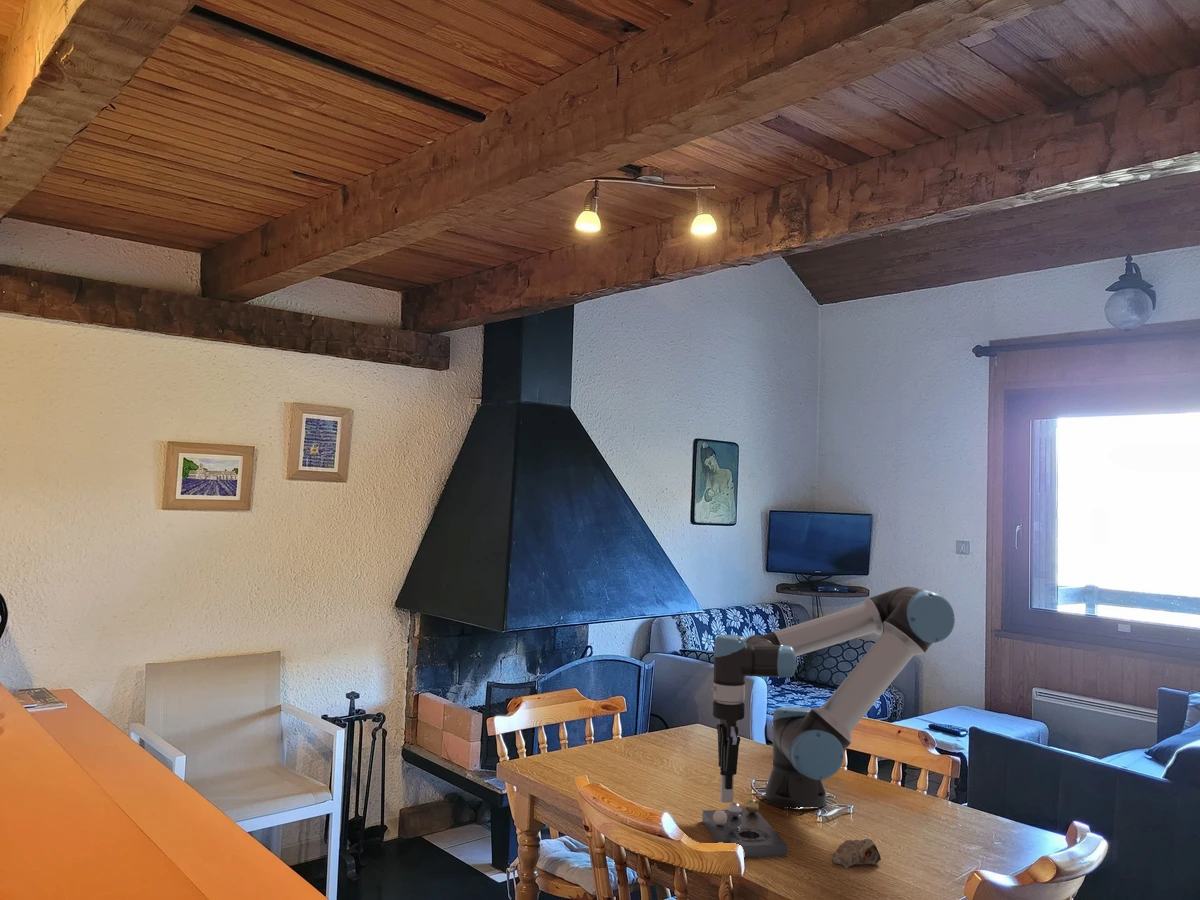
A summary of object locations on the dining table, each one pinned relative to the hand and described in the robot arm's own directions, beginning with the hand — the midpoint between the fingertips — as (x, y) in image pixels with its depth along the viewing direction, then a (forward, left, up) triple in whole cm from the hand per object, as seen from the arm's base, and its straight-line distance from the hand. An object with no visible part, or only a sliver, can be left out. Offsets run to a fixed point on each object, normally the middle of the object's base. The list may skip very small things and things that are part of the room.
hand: (726, 801), depth 211 cm
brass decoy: (-5, +4, 0) cm, 6 cm away
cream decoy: (+5, +11, 0) cm, 12 cm away
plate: (0, +12, -4) cm, 13 cm away
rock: (-21, +27, -5) cm, 34 cm away
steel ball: (0, +6, 0) cm, 6 cm away
